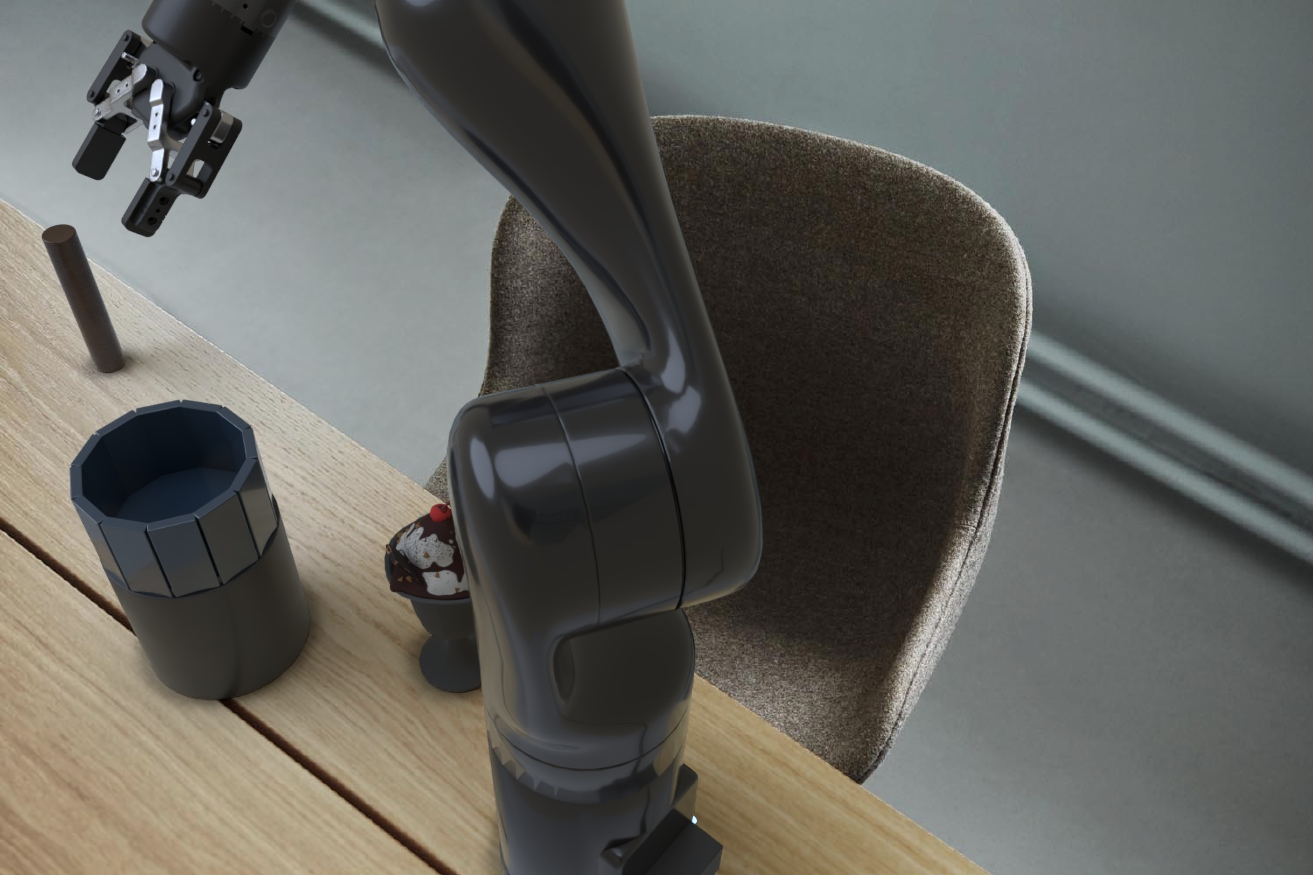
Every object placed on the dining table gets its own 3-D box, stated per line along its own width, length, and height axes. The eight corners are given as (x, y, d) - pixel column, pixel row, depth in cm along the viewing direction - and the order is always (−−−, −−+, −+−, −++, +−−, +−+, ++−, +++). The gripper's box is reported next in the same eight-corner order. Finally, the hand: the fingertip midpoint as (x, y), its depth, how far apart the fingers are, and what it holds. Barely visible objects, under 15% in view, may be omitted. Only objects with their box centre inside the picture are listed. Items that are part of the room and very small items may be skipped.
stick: (131, 362, 87) (82, 232, 79) (105, 377, 86) (52, 246, 78) (115, 349, 88) (64, 219, 80) (89, 363, 87) (34, 233, 78)
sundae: (523, 617, 73) (512, 456, 62) (503, 710, 68) (487, 553, 57) (420, 606, 73) (391, 443, 62) (393, 698, 68) (356, 539, 57)
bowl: (310, 523, 64) (292, 456, 61) (167, 625, 59) (137, 560, 55) (210, 444, 68) (187, 376, 64) (68, 534, 63) (33, 467, 59)
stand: (342, 625, 72) (315, 522, 64) (211, 730, 66) (166, 630, 59) (246, 546, 76) (211, 441, 68) (116, 638, 70) (62, 534, 63)
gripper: (133, -67, 78) (19, 137, 80) (229, 12, 70) (101, 233, 73) (224, -11, 84) (116, 176, 87) (322, 67, 77) (200, 269, 79)
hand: (109, 202), depth 80 cm, fingers open, 8 cm apart
